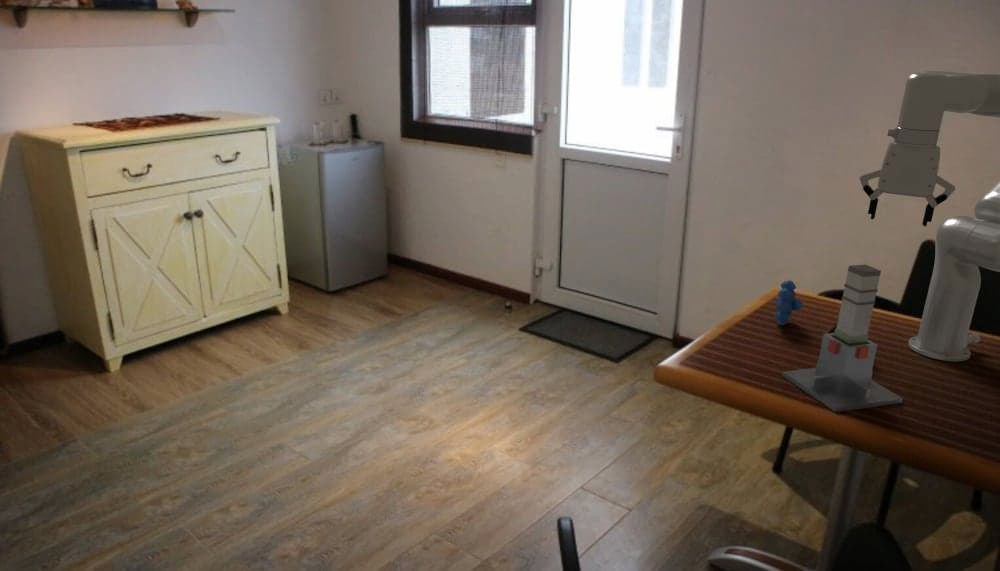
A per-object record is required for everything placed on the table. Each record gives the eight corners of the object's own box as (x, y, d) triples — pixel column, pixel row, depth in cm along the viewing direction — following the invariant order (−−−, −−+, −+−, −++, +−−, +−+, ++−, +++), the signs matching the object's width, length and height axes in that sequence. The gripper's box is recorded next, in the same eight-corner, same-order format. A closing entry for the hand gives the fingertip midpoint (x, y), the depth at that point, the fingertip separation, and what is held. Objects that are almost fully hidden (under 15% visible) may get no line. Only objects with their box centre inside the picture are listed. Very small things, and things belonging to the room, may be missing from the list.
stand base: (844, 368, 162) (854, 321, 159) (901, 402, 148) (913, 352, 144) (782, 376, 158) (790, 327, 154) (834, 412, 143) (845, 359, 140)
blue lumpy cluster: (795, 336, 179) (804, 289, 175) (766, 330, 182) (774, 283, 178) (803, 321, 188) (811, 276, 184) (775, 315, 191) (783, 271, 188)
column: (847, 351, 153) (865, 264, 147) (863, 360, 149) (882, 270, 143) (830, 353, 152) (847, 265, 146) (845, 362, 148) (863, 272, 142)
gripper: (867, 135, 150) (851, 219, 155) (967, 144, 142) (946, 231, 148) (869, 131, 156) (853, 211, 162) (965, 139, 149) (945, 223, 154)
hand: (898, 221), depth 155 cm, fingers open, 9 cm apart
